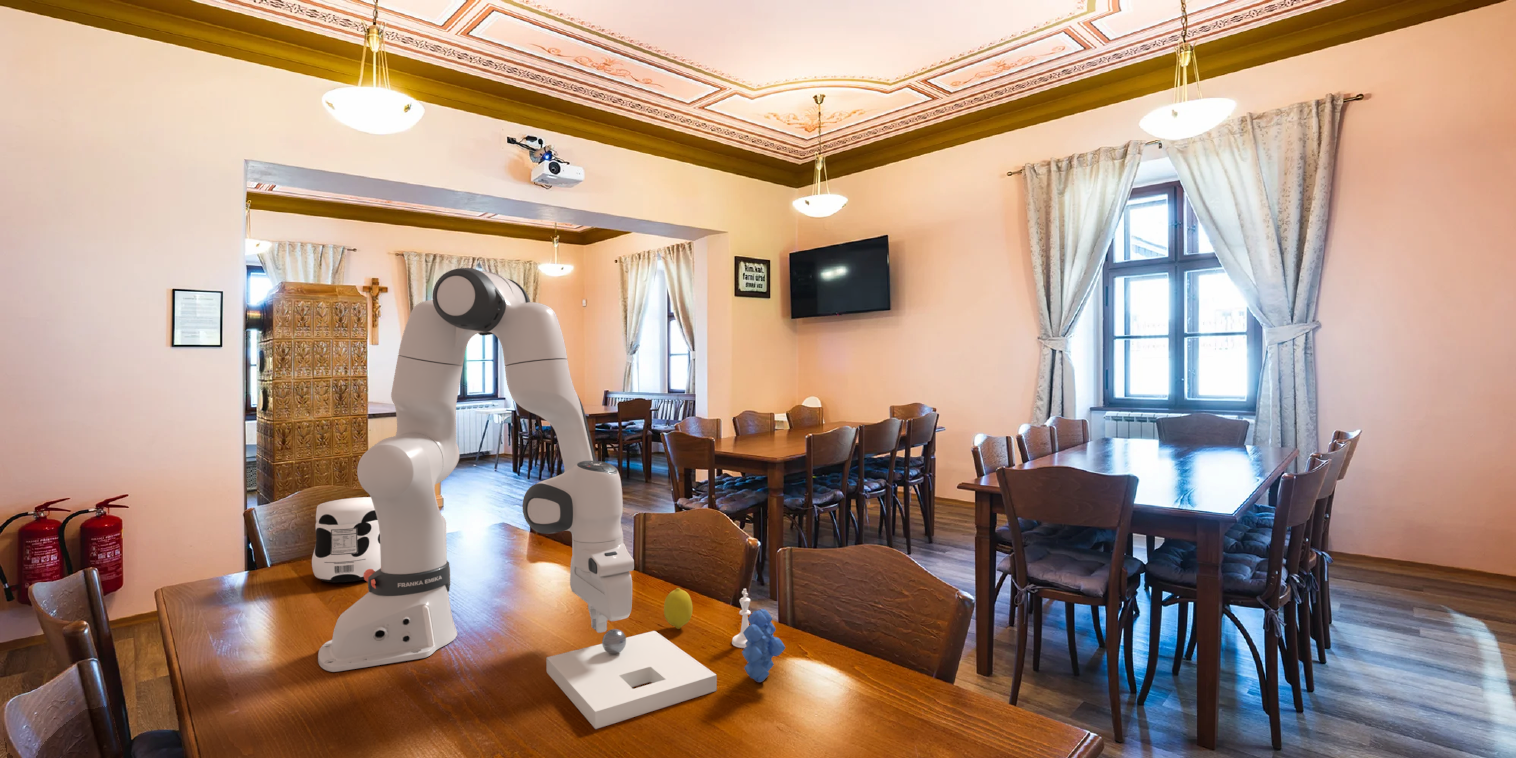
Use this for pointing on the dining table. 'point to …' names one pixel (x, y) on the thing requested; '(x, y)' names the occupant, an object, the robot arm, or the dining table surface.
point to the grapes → (760, 645)
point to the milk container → (346, 540)
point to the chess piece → (740, 638)
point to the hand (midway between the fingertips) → (599, 629)
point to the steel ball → (614, 641)
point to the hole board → (629, 678)
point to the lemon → (678, 608)
